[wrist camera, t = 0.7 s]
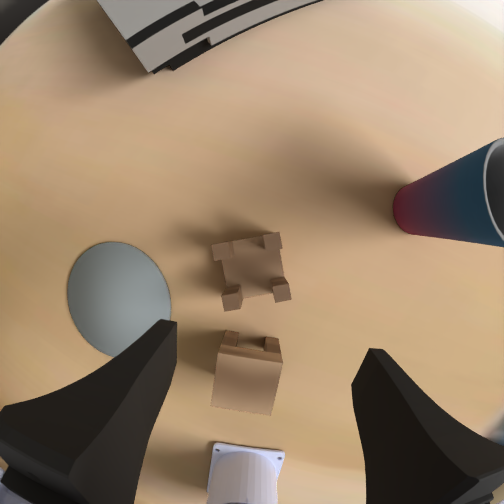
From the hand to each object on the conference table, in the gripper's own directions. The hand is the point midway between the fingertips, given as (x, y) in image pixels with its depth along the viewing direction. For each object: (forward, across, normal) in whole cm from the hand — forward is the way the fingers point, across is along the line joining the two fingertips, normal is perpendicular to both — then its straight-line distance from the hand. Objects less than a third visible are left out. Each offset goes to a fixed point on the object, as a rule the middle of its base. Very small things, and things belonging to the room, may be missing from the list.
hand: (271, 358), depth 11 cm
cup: (+20, -14, -3) cm, 24 cm away
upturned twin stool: (+17, +1, +5) cm, 18 cm away
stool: (+14, 0, +13) cm, 19 cm away
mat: (+15, +14, +10) cm, 23 cm away
